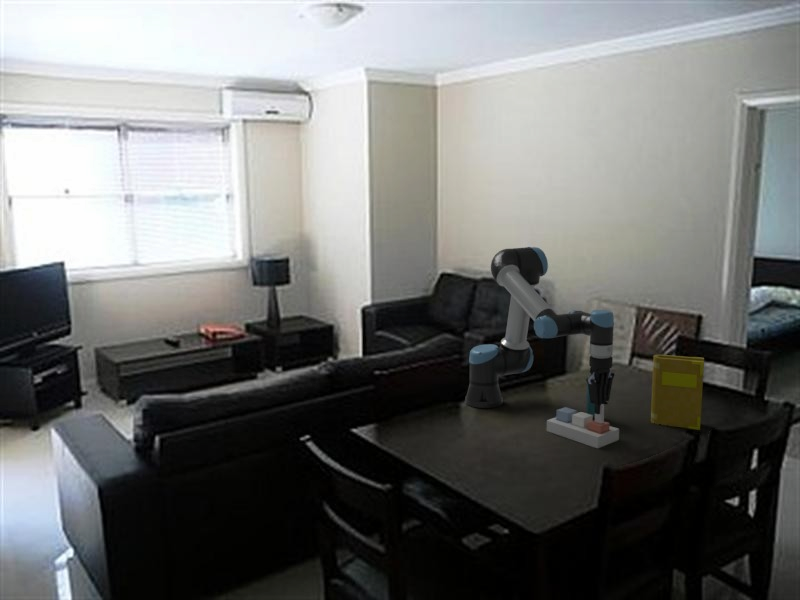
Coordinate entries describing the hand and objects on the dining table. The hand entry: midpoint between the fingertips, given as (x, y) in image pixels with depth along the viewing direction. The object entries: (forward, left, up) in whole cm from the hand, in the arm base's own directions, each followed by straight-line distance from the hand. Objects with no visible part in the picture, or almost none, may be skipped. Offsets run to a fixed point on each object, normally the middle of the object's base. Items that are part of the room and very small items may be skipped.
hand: (599, 422), depth 238 cm
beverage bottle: (-15, +18, -7) cm, 24 cm away
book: (+8, +35, -7) cm, 37 cm away
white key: (-7, 0, -4) cm, 8 cm away
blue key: (-14, 0, -4) cm, 15 cm away
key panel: (-7, 0, -7) cm, 10 cm away
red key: (0, 0, -5) cm, 5 cm away
